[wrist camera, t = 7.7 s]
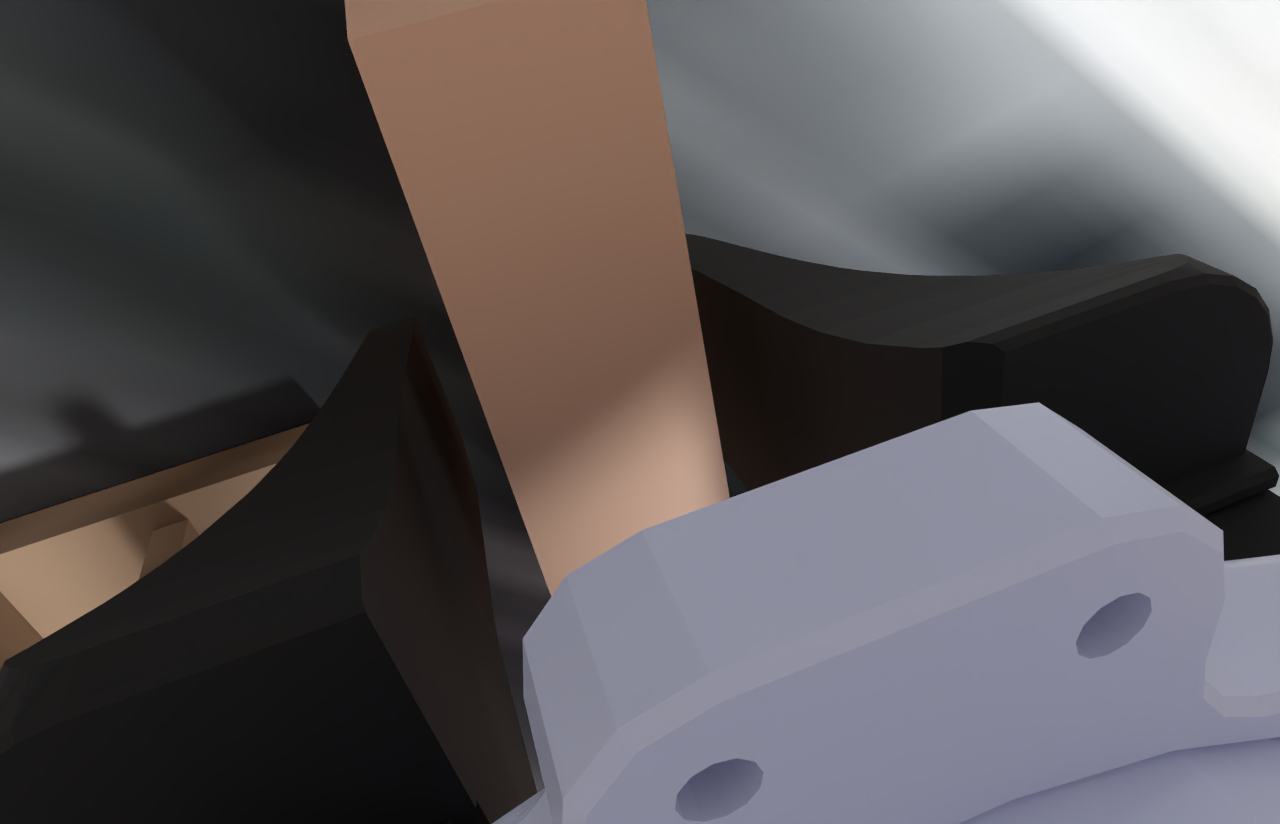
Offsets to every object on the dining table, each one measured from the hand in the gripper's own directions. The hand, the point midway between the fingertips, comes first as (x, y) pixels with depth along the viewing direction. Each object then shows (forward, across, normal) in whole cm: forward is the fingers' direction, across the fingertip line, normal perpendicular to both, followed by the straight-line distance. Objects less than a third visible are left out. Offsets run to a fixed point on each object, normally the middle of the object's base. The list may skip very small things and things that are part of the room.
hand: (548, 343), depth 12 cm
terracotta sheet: (+4, 0, 0) cm, 4 cm away
